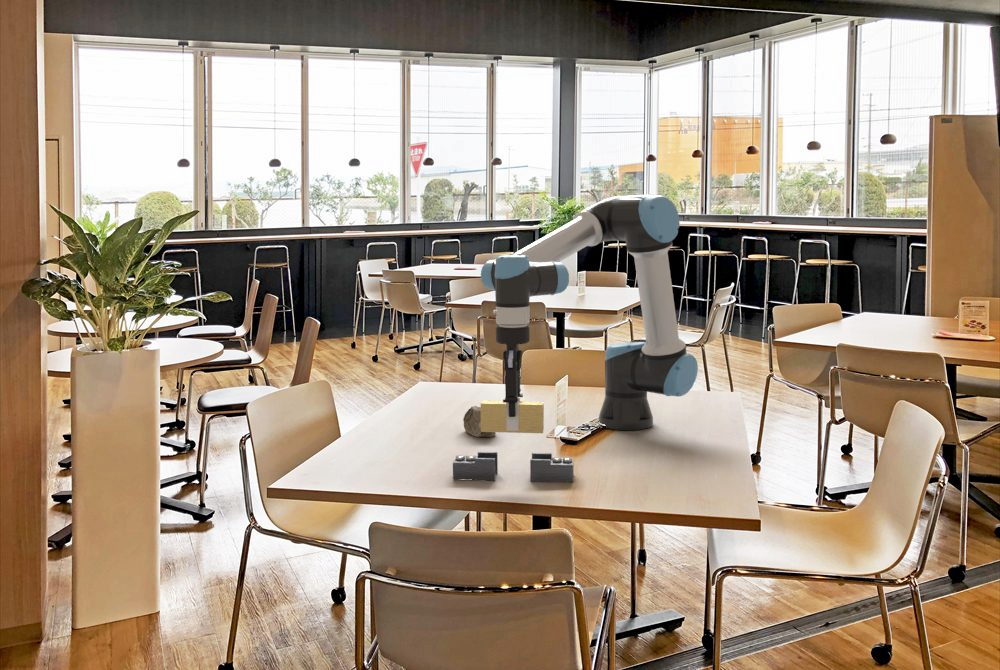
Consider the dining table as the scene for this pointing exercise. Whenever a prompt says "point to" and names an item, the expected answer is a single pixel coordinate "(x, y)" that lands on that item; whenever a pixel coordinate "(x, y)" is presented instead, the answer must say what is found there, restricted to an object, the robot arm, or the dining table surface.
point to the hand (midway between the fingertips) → (513, 428)
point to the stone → (475, 423)
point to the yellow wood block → (528, 417)
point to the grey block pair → (540, 467)
